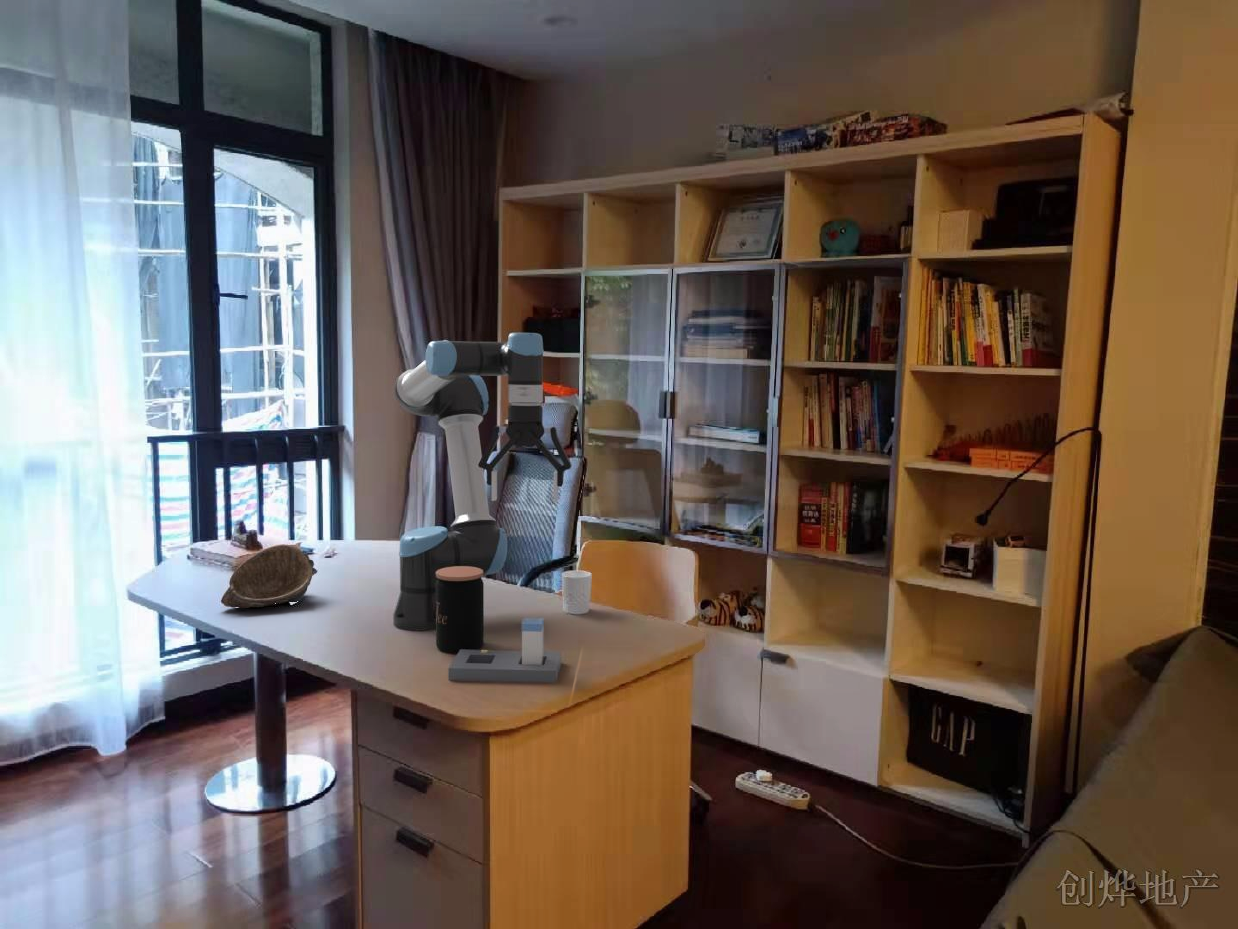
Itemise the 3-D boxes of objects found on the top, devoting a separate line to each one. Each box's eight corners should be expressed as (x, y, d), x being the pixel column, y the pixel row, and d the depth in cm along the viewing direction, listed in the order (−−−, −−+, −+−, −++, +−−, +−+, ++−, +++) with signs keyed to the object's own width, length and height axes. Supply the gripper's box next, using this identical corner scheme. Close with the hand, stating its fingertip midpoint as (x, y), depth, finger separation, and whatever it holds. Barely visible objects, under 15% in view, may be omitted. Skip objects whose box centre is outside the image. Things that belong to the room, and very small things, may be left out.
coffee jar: (438, 641, 213) (438, 566, 211) (485, 641, 214) (484, 565, 212) (433, 656, 202) (432, 577, 200) (482, 656, 203) (481, 576, 201)
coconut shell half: (233, 621, 228) (328, 580, 241) (208, 570, 232) (302, 532, 246) (235, 643, 240) (325, 603, 253) (210, 594, 245) (300, 557, 258)
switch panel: (448, 682, 187) (448, 666, 186) (460, 662, 198) (460, 648, 198) (555, 685, 186) (556, 669, 186) (561, 665, 198) (561, 650, 197)
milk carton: (521, 675, 190) (521, 623, 189) (524, 668, 194) (524, 618, 193) (541, 675, 190) (541, 624, 189) (543, 668, 194) (543, 618, 193)
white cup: (587, 616, 235) (587, 578, 234) (557, 614, 237) (558, 576, 236) (594, 608, 243) (594, 571, 242) (565, 606, 245) (565, 569, 244)
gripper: (464, 404, 196) (465, 502, 198) (581, 406, 195) (580, 504, 197) (471, 402, 203) (472, 496, 206) (583, 404, 202) (582, 499, 205)
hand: (525, 500), depth 201 cm, fingers open, 13 cm apart
